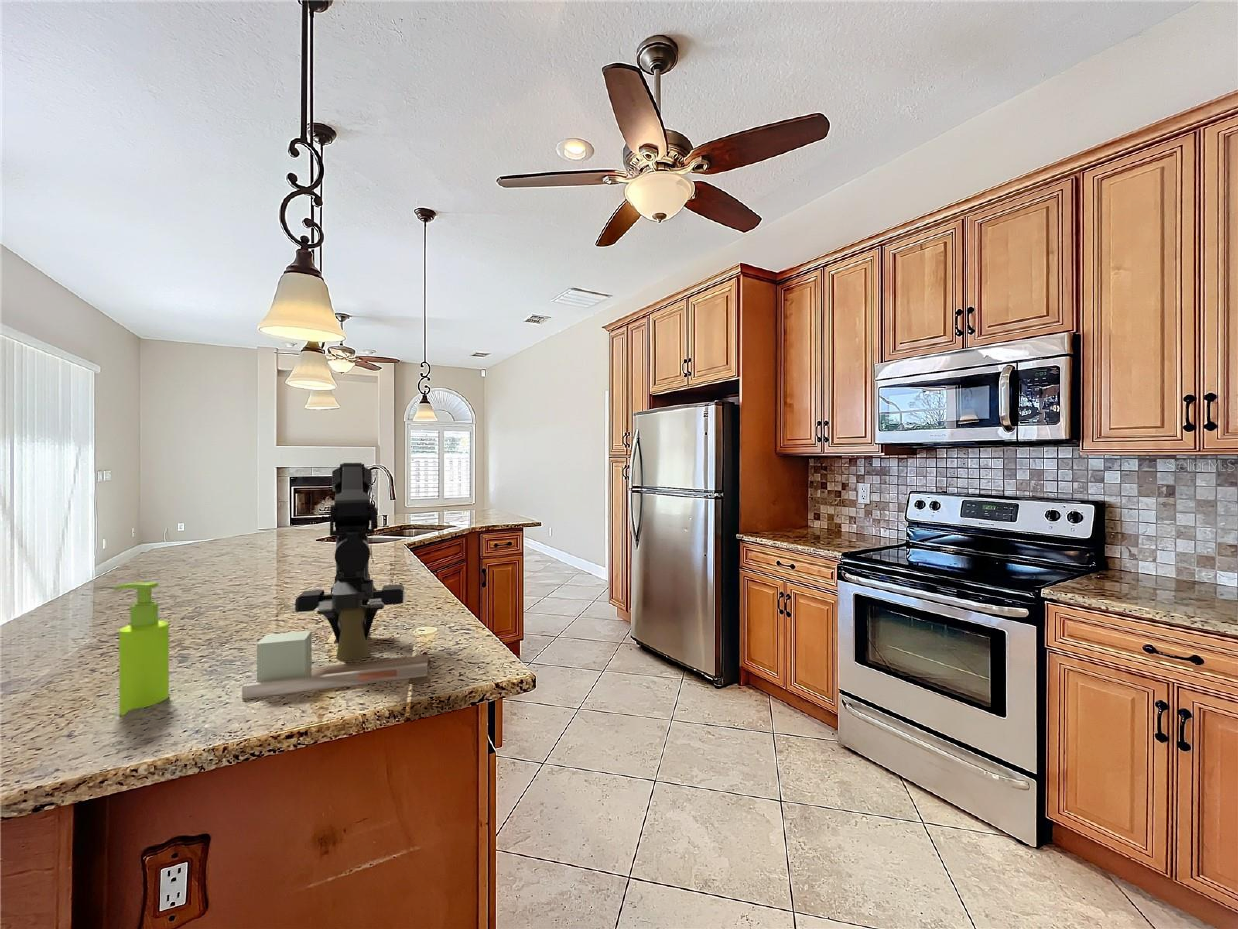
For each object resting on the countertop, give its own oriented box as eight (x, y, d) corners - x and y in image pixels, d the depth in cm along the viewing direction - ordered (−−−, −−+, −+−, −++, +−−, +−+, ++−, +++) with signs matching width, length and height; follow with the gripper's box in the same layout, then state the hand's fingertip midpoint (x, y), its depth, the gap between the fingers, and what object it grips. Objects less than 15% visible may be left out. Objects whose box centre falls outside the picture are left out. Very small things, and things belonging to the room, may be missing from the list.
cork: (355, 668, 101) (355, 610, 101) (328, 666, 102) (327, 609, 102) (376, 657, 107) (376, 602, 107) (349, 655, 108) (349, 601, 108)
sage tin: (266, 680, 93) (265, 634, 93) (311, 675, 95) (311, 630, 95) (256, 692, 88) (256, 644, 88) (305, 686, 90) (305, 639, 90)
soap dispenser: (133, 700, 88) (132, 579, 88) (177, 699, 88) (177, 578, 88) (101, 717, 82) (101, 587, 82) (149, 716, 82) (149, 586, 82)
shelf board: (263, 679, 96) (262, 662, 96) (427, 661, 105) (427, 644, 105) (242, 706, 86) (242, 686, 86) (427, 682, 95) (427, 664, 95)
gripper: (287, 573, 94) (287, 661, 94) (401, 566, 100) (401, 649, 100) (302, 562, 105) (302, 641, 105) (404, 556, 111) (404, 631, 111)
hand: (352, 641), depth 105 cm, fingers closed on cork, 4 cm apart
